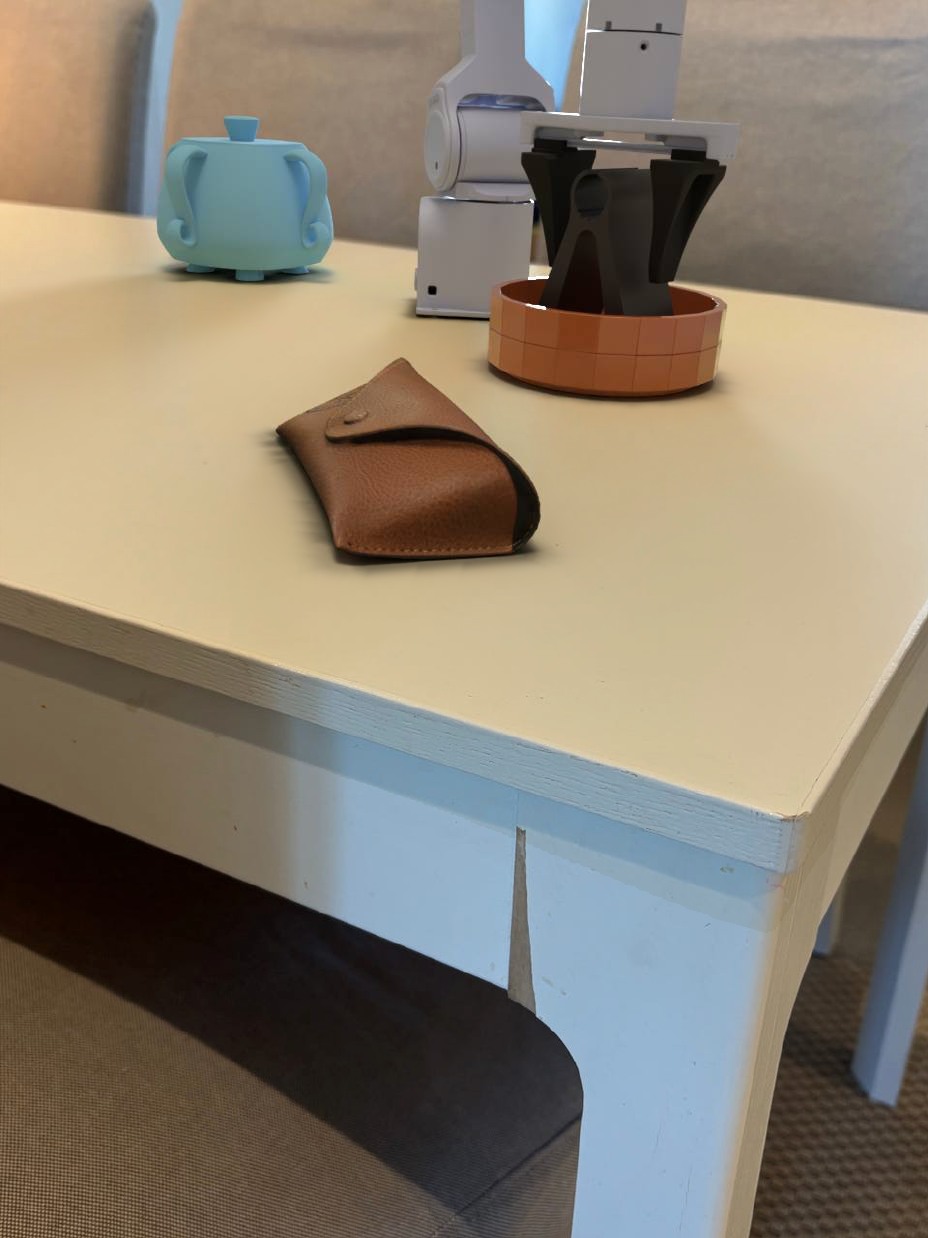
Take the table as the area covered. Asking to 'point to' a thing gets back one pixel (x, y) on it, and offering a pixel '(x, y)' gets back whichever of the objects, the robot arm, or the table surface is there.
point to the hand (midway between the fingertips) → (609, 273)
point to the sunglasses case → (411, 473)
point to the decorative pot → (244, 203)
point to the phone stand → (607, 248)
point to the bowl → (605, 343)
